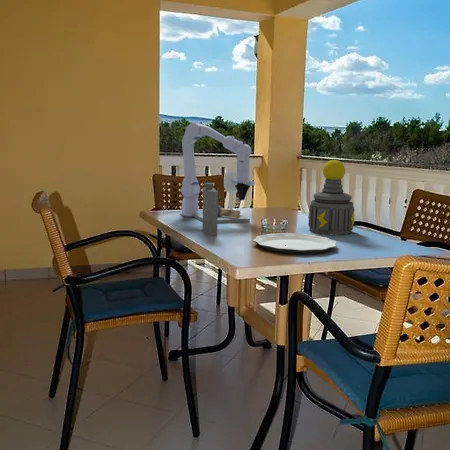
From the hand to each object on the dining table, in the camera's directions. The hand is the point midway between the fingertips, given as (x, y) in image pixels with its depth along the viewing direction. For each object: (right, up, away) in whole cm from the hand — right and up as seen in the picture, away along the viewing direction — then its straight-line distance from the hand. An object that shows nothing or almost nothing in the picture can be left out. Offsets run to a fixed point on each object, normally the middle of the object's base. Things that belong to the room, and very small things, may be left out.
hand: (242, 199), depth 241 cm
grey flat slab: (-10, -9, +1) cm, 13 cm away
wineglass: (-5, -6, +21) cm, 22 cm away
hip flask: (-15, -15, -33) cm, 39 cm away
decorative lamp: (+37, -15, -23) cm, 45 cm away
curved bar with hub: (-10, -7, 0) cm, 12 cm away
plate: (+17, -20, -55) cm, 61 cm away
